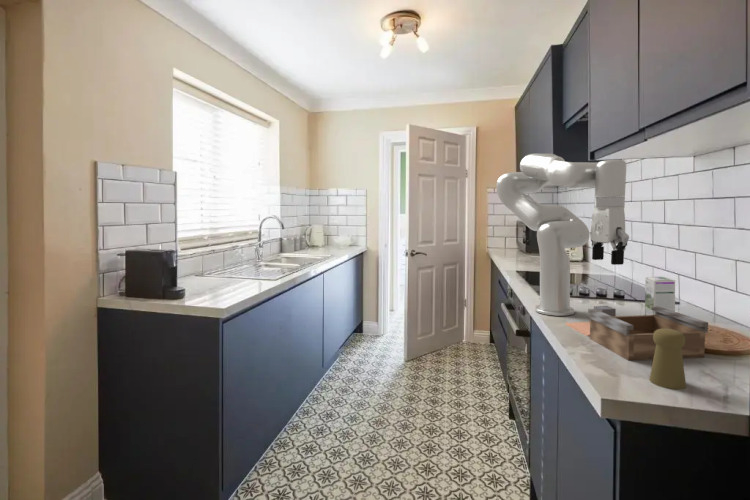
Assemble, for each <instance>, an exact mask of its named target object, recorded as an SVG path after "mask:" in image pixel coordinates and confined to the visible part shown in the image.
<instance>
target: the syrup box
mask: <svg viewBox="0 0 750 500" xmlns="http://www.w3.org/2000/svg"><path fill="white" fill-rule="evenodd" d="M644 284H645V285H644V287H645V290H644V291H645V292H644V295H645V296H644V315H655V311H653V310H652V306H658V307H661V308H665V309H668V310H671V311H674V312H676V280H675V279H673V278H669V277H666V276H648V277H647V276H645V283H644Z"/></svg>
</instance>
